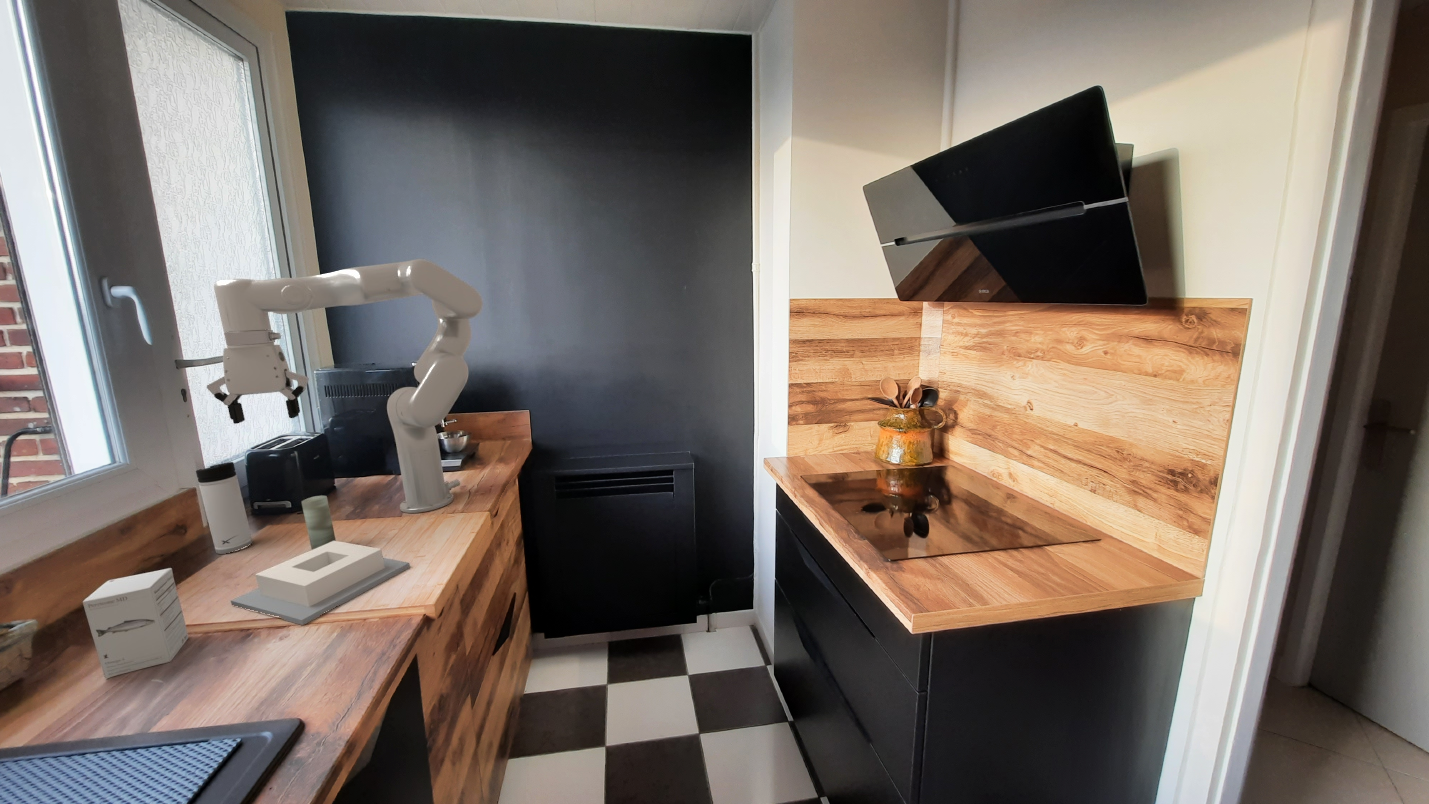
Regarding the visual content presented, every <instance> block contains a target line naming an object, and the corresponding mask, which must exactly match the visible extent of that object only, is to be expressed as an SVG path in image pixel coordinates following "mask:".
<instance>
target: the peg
mask: <svg viewBox="0 0 1429 804" xmlns="http://www.w3.org/2000/svg"><path fill="white" fill-rule="evenodd" d="M329 506H330V505H329V501H328V497H327V495H315V496H311V497H308V498H306V499H303V500H301V507H302V511H303V515H304V516H303V517H304V520H305V525H306V530H307V535H308V539H309V544H310V548H311V550H313V549H316V548H318V547H320V546H323V545H325V544H327V543H330V542H332V541H337V540H336V535H335V531H334V525H333V520H332V516H331V510H330V507H329Z"/></svg>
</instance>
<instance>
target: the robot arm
mask: <svg viewBox="0 0 1429 804" xmlns="http://www.w3.org/2000/svg"><path fill="white" fill-rule="evenodd" d="M213 289H214V294H215V298H216V303H217V308H218V312H219V317H220V321H221V326H222V329H223V335H224V338H225V340H224V341H225V344H226V347H224V348H223V353H222V354H223V355H222V362H223V363H222V365H223V375H224V376H222V377H220V378H218V379H216V380H215V381H213V382H211V383H209V384H207V385H206V390H208V392H210V393H211V394H212V395H213V397H214V398H215V399H217V401H220V402H222V403H223V405H224V406H227V410H228V413H229V418H230V420H232V421H233V424H234V425H235V424H236V425H237V424H240V423H242V422H244V421H245V420H246V419H245V415H244V409H243V406H242V403H241V402H239V400H240V398H242V396H248V395H250V396H251V395H259V394H261V395H262V394H272V393H278V392H279V393H280V394H282V395H283V396H284V397H286V398H287V399H286V400H285V404H286V409H287V415H288V418H290V419H294V418H297V417H299V414H300V413H301V407H300V403H299V399H298V398H300V396H301V395H302V394H303V393H304V391H305V390H306V388H307V387H306V386H307V385H308V382H309V381H310V378H309V377H308V376H306V375H303V374H300V373H296V372H295V371H294V372H293V371H291V370H290V368H289V364H288V362H287V359H286V356H285V354H284V351H283V349H282V346H281V345H280V344H275V342H276V341H277V340H279V339H281V338H282V337H281V336H282V335H281V333H280V332H274V331H273V329H272V326H271V321H270V315H269V313H273V314H277V315H291V314H298V313H302V312H304V311H305V312H306V311H311V310H318V309H325V308H331V307H340V306H358V305H359V306H360V305H366V304H367V305H368V304H372V303H377V302H379V303H380V302H384V301H391V300H396V299H397V300H398V299H402V298H409V297H414V296H422V295H423V296H425V297H427V298H428V299H430V300H431V306H432V310H433V312H434V314H435V316H436V319H437V320H436V321H437V328H436V332H435V334H434V335H433V338H432V339H431V341H430V343H429V344H428V345H427V347H426V349H425V350H424V351H423V352H422V354H421V356H420V357H419V359H418V360H417V361H416V364H415V365H414V369H413V374H414V379H416V380H417V382H418V383H419V384H418V386H417V387H415V386H405V387H400V388H398V389H396V390H395V391H394V392H392V393H391V394H390V396H389V398H388V399H387V404H386V410H387V415H388V420H389V423H390V426H391V429H392V433H393V436H394V442H395V444H396V445H395V446H396V453H397V458H398V463H399V470H400V474H401V480H402V487H403V492H404V497H405V500H404V501H402V502H401V503H400V504H399V510H400V511H401V512H403V513H408V514H416V513H417V514H418V513H423V512H430V511H434V510H437V509H441V508H443V507H445V506H447V505H449V504H451V503H452V502H453V501H454V499H455V498H454V494H453V493H452V492H450V491H452V489H455V488H457V487H459V486H460V485H461V481H460V480H459V479H454V480H452V481H450V482H449V481H448V480H445V475H444V472H443V463H442V458H441V457H442V456H441V451H440V443H439V438H438V433H437V430H436V427H435V426H437V425H439V424H440V423H441V422H442V421H444V419H445V418H446V417H447V416H448V414H449V412H450V411H451V409H452V408H453V406H454V404H455V402H456V401H457V400H458V398H459V396H460V394H461V392H462V391H463V389H464V388H465V386H466V384H467V382H468V379H469V366H468V363H467V362H466V361H465V359H464V355H466V354H465V353H466V352H467V350H468V348H469V347H470V343H471V340H472V327H471V323H470V319H473V318H476V317H477V316H479V314H480V313H481V311H482V310H483V306H484V305H483V304H484V303H483V298H482V296H481V294H480V293H479V291H478V290H477V289H475V288H474V286H471V285H470V284H468V283H467V282H465V281H464V280H462V279H460V278H459V277H457V276H456V275H454V274H452V273H451V272H449V271H447V270H446V269H444V268H443V267H442V266H440V265H438V264H436V263H434V262H433V261H431V260H428V259H424V258H418V259H417V258H416V259H411V260H406V261H405V260H404V261H400V262H398V261H397V262H391V263H382V264H374V265H366V266H365V265H364V266H355V267H354V266H353V267H350V268H349V267H348V268H344V269H340V270H336V271H332V272H328V273H327V272H326V273H323V274H317V275H310V276H303V277H302V276H301V277H294V278H293V277H279V278H270V279H258V280H257V279H251V278H227V279H220V280H217V281H215V283H214V285H213ZM293 381H296V382H298V383H297V386H296V387H295V388H292V387H293ZM223 385H225V387H226V390H227V392H228V394H227V393H226V392H224V391H222V389H221V387H222V386H223Z"/></svg>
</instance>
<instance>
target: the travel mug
mask: <svg viewBox="0 0 1429 804" xmlns="http://www.w3.org/2000/svg"><path fill="white" fill-rule="evenodd" d="M195 473H196V477H197V483H198V487H199V490H200V494H201V498H202V503H203V507H204V511H205V514H206V518H207V522H208V526H209V531H210V534H211V538H212V541H213V542H212V543H213V546H214V550H215V553H216V554H217V555H218V554H219V555H227V554H226V553H229V552H232V551H235V550H238V549H241V548H243V547H245V546H248V545H249V544H251V543H252V541H253V537H252V533H251V529H250V525H249V521H248V517H247V513H246V509H245V504H244V499H243V496H242V491H241V487H240V483H239V480H238V478H239V477H238V474H237V473H236V467H235V464H234V462H233V461H229V462H223V463H219V464H215V465H214V464H213V465H210V466H209V467H206V468H203V469H202V468H200V469H197V470H195ZM252 544H253V543H252ZM229 554H230V553H229Z"/></svg>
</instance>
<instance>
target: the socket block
mask: <svg viewBox="0 0 1429 804" xmlns="http://www.w3.org/2000/svg"><path fill="white" fill-rule="evenodd" d="M409 568H411V565H410V562H408V561H403V560H402V561H401V560H397V559H392V558H386V557H383V551H382V548H377V547H371V546H365V545H362V544H361V545H360V544H357V543H356V544H354V543H349V542H344V541H340V540H336V541H332V542H330V543H327V544H325V545H323V546H320V547H318V548H316V549H313V550H312V549H311V550H309V551H307V552H304V553H301V554H299V555H297V556H294V557H293V558H290V559H287V560H286V561H283V562H281V563H279V564H276V565H274V566H272V567H269V568H267V569H264V570H262V571H260V572H258V573H255V575H254V576H255V580H256V584H257V588H256V589H252V590H251V591H249V592H246V593H245V594H241V595H239V596H238V597H236V598H233V599H231V600H230V603H231V606H232V605H234V606H233V607H235V606H238V607H237V608H239V607H242V608H246V609H250V610H254V611H258V612H262V613H265V614H270V615H274V616H279V617H281V618H282V619H284V620H283V621H285V622H290V623H293V624H297V625H300V626H304V625H306V624H308V623H310V622H312V621H314V620H315V619H317V618H319V617H321V616H322V615H321V614H323V613H324V612H326V611H328V610H330V611H332V610H334V609H336V608H337V607H336V606H338V607H339V605H340V606H342V605H343V604H346V602H349V601H350V600H353V599H354V598H356V597H359V595H361V594H363V593H366V592H368V591H369V590H371V589H373V588H374V587H376V586H378V585H380V584H382V583H384V582H386V581H388V580H389V579H390V578H393V577H394V576H397V575H398V574H400V573H402V572H404V571H405V570H408V569H409ZM335 607H336V608H335ZM242 608H241V609H242ZM333 608H334V609H333ZM246 609H245V610H246ZM331 609H332V610H331ZM250 610H249V611H250ZM320 615H321V616H320ZM323 615H324V614H323ZM282 619H281V620H282Z"/></svg>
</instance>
